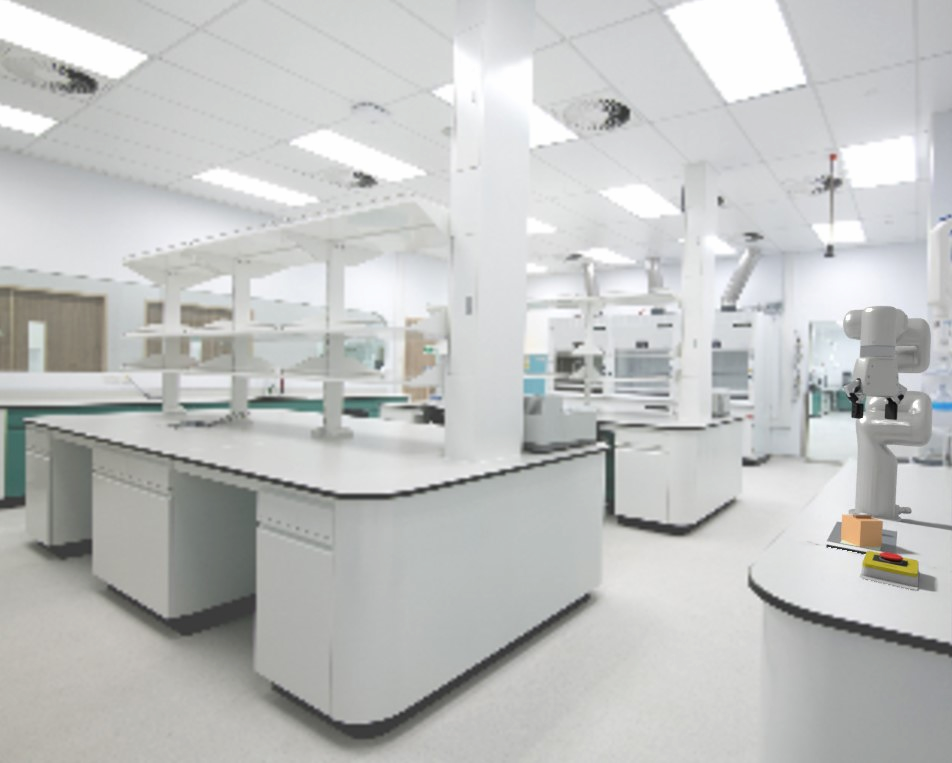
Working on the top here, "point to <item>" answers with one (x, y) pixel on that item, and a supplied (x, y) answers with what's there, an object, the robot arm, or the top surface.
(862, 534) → the tan wooden cube
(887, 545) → the base plate
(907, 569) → the emergency button
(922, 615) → the top surface
